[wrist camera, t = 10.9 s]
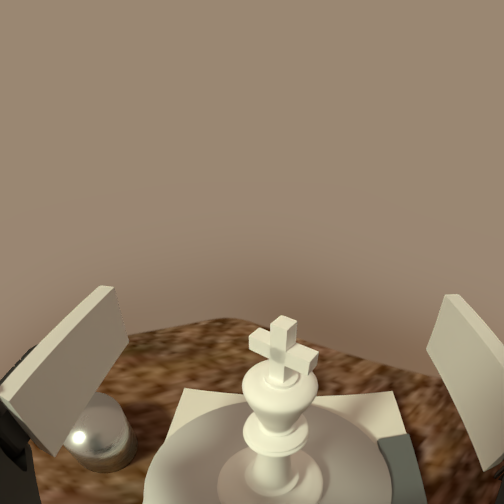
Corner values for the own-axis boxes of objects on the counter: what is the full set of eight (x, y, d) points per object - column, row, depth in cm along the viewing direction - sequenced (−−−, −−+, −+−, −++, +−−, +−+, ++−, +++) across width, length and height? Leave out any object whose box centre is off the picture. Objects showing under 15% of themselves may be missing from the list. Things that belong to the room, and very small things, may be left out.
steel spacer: (147, 427, 16) (135, 401, 15) (124, 483, 11) (105, 462, 10) (90, 411, 16) (75, 384, 15) (63, 458, 12) (41, 434, 11)
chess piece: (260, 433, 13) (261, 262, 9) (340, 472, 10) (411, 304, 7) (195, 490, 9) (129, 329, 6) (282, 546, 7) (334, 458, 3)
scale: (383, 410, 17) (396, 383, 15) (415, 580, 4) (443, 573, 2) (189, 407, 18) (182, 380, 17) (134, 578, 5) (110, 574, 4)
